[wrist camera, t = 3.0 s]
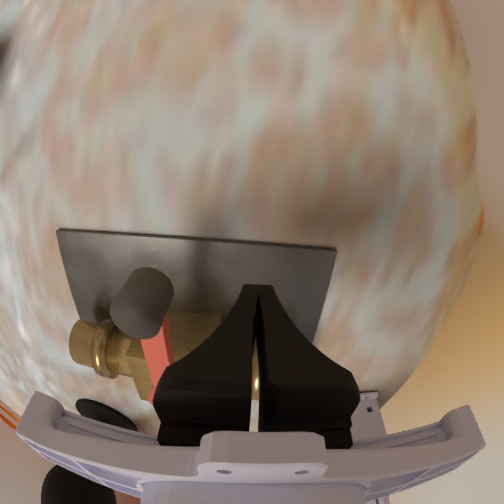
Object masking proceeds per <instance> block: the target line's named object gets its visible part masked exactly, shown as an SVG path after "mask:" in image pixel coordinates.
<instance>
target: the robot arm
mask: <svg viewBox="0 0 504 504" xmlns="http://www.w3.org/2000/svg"><path fill="white" fill-rule="evenodd" d="M255 338H256V346H257V357H258V368H259V420H258V432H249V427H250V413H251V400H252V359H253V352H254V345H255ZM378 396H379V394H378V392H369V393H360V392H359V389H358V386H357V383H356V381H355V379H354V377H353V375H352V373H351V372H350V371H348V370H347V369H345V368H343V367H342V366H340V365H338V364H337V363H335V362H334V361H332V360H331V359H330V358H328V357H327V356H325V355H324V354H323V353H322V352H321V351H319V350H318V349H317V348H316V347H315V346H314V345H313V344H312V343H311V342H310V341H309V340H308V339H307V338H306V337H305V336H304V335H303V334H302V333H301V332H300V330H299V329H298V328H297V327H296V325H295V324H294V323H293V321H292V320H291V319H290V317H289V316H288V314H287V312H286V311H285V309H284V308H283V306H282V304H281V302H280V300H279V299H278V297H277V294H276V292H275V290H274V287H273V286H272V285H260V284H244V285H243V286H242V289H241V292H240V294H239V296H238V298H237V300H236V302H235V303H234V305H233V307H232V308H231V310H230V312H229V313H228V314H227V316H226V317H225V318H224V320H223V321H222V322H221V324H220V325H219V326H218V327H217V328H216V330H215V331H214V332H213V333H212V334H211V335H210V336H209V337H208V338H207V339H206V340H205V341H204V342H202V343H201V344H200V345H199V346H198V347H196V348H195V349H194V350H192V351H191V352H190V353H188V354H187V355H186V356H184V357H183V358H181V359H180V360H178V361H176V362H175V363H173V364H171V365H169V366H167V367H166V368H165V370H164V372H163V374H162V375H161V377H160V380H159V382H158V384H157V386H156V390H155V393H154V397H153V400H152V402H153V407H154V409H155V411H156V413H157V415H158V417H159V420H160V422H161V424H160V428H159V432H158V436H156V435H151V434H146V433H141V432H137V431H133V430H128V429H124V428H121V427H117V426H113V425H110V424H106V423H103V422H99V421H96V420H93V419H90V418H87V417H84V416H81V415H78V414H75V413H72V412H70V411H67V410H64V408H63V406H62V405H61V403H60V402H59V401H57V400H56V399H55V398H53V397H51V396H48V395H46V394H43V393H41V392H38V391H35V392H34V394H33V396H32V398H31V400H30V402H29V404H28V406H27V407H26V409H25V411H24V413H23V415H22V417H21V419H20V421H19V424H18V426H17V428H16V430H15V433H16V434H17V435H18V436H19V437H20V438H21V439H22V440H24V441H25V442H26V443H27V444H28V445H29V446H30V447H32V448H33V449H34V450H35V451H37V452H38V453H39V454H40V455H41V456H43V457H44V458H46V459H48V460H50V461H52V462H53V463H55V464H58V465H60V466H62V467H64V468H66V469H68V470H70V471H72V472H74V473H76V474H79V475H81V476H83V477H85V478H87V479H90V480H92V481H94V482H97V483H99V484H102V485H104V486H107V487H109V488H112V489H115V490H118V491H120V492H123V493H126V494H129V495H133V496H135V497H139V498H141V502H140V504H390V503H389V495H391V494H395V493H397V492H400V491H403V490H406V489H409V488H412V487H414V486H417V485H419V484H422V483H424V482H427V481H429V480H432V479H434V478H437V477H439V476H441V475H443V474H446V473H448V472H450V471H453V470H455V469H456V468H457V467H459V466H460V465H462V464H463V463H465V462H466V461H467V460H469V459H470V458H471V457H473V456H474V455H475V454H476V453H478V452H479V451H480V450H482V449H483V448H484V447H485V445H486V444H485V441H484V439H483V437H482V434H481V432H480V429H479V427H478V424H477V422H476V420H475V418H474V415H473V413H472V411H471V409H470V406H469V405H466V406H463V407H460V408H457V409H454V410H452V411H450V412H448V413H447V414H445V415H444V416H443V418H442V419H441V420H440V421H439V422H436V423H433V424H429V425H426V426H422V427H419V428H415V429H411V430H407V431H402V432H398V433H394V434H389V435H387V434H386V431H385V427H384V423H383V420H382V416H381V413H380V410H379V406H378V403H377V397H378Z"/></svg>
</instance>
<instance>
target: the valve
mask: <svg viewBox="0 0 504 504" xmlns="http://www.w3.org/2000/svg"><path fill="white" fill-rule="evenodd" d="M56 234H57V239H58V243H59V248H60V252H61V256H62V260H63V264H64V268H65V272H66V276H67V279H68V283H69V286H70V289H71V293H72V296H73V299H74V302H75V305H76V308H77V311H78V314H79V317H80V320H78V321H77V322H76V323H75V324H74V326H73V328H72V330H71V333H70V338H69V350H70V354H71V357H72V359H73V360H74V361H75V362H76V363H78V364H81V365H85V366H88V367H92V368H94V370H95V372H96V373H97V374H98V375H100V376H103V377H107V378H111V379H114V378H116V377H117V376H118V375H124V376H128V377H133V380H134V382H135V385H136V388H137V390H138V393H139V395H140V398H141V400H146V401H149V400H148V397H149V394H150V390H151V387H152V384H153V382H152V379H151V376H150V372H149V369H148V366H147V362H146V359H145V355H144V351H143V348H142V344H141V340H140V339H137V338H134V337H131V336H129V335H127V334H125V333H124V332H122V331H121V330H120V329H119V328H118V327H117V326H116V325H115V323H114V322H113V320H112V318H111V315H110V306H111V304H112V302H113V300H114V299H115V297H116V296H117V294H118V293H119V291H120V290H121V288H122V287H123V285H124V284H125V282H126V281H127V279H128V278H129V276H130V275H131V273H132V272H133V271H134V270H136V269H137V268H140V267H152V268H155V269H157V270H159V271H161V272H162V273H164V274H165V275H166V276H167V277H168V278H169V279H170V281H171V283H172V285H173V288H174V296H173V299H172V301H171V304H170V306H169V309H168V311H167V316H168V323H169V330H170V336H171V343H172V349H173V355H174V360H175V362H176V361H178V360H180V359H181V358H183V357H184V356H186V355H187V354H188V353H190V352H191V351H192V350H194V349H195V348H196V347H198V346H199V345H200V344H201V343H202V342H204V341H205V340H206V339H207V338H208V337H209V336H210V335H211V334H212V333H213V332H214V331H215V330H216V328H217V327H218V326H219V325H220V324H221V322H222V321H223V320H224V318H225V317H226V316H227V314H228V313H229V312H230V310H231V308H232V307H233V305H234V303H235V302H236V300H237V298H238V296H239V294H240V292H241V289H242V286H243V285H244V284H260V285H272V286H273V287H274V290H275V292H276V294H277V297H278V299H279V300H280V302H281V304H282V306H283V308H284V309H285V311H286V312H287V314H288V316H289V317H290V319H291V320H292V321H293V323H294V324H295V325H296V327H297V328H298V329H299V330H300V332H301V333H302V334H303V335H304V336H305V337H306V338H307V339H308V340H309V341H310V342H311V343H312V342H313V339H314V336H315V332H316V329H317V325H318V322H319V318H320V315H321V311H322V308H323V304H324V300H325V297H326V293H327V289H328V285H329V281H330V277H331V273H332V269H333V265H334V261H335V257H336V253H337V251H336V249H331V248H319V247H307V246H295V245H282V244H270V243H257V242H244V241H231V240H218V239H204V238H190V237H176V236H162V235H147V234H132V233H117V232H102V231H85V230H69V229H58V230H56ZM252 400H259V368H258V357H257V346H256V338H255V345H254V352H253V359H252Z"/></svg>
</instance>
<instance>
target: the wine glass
mask: <svg viewBox="0 0 504 504" xmlns="http://www.w3.org/2000/svg"><path fill="white" fill-rule="evenodd" d="M76 409H77V410H78V412H79V413H80V414H81V415H82V416H84V417H87V418H90V419H93V420H96V421H99V422H103V423H106V424H110V425H113V426H117V427H121V428H124V429H128V430H133V431H137V428H136V426H135V425H134V424H133V422H132V421H130V420H129V419H128V418H127V417H125V416H124V415H123V414H121V413H119V412H118V411H116V410H114V409H112V408H110V407H108V406H106V405H104V404H101V403H99V402H96V401H92V400H88V399H80V400H78V401H77V402H76ZM41 504H117V503H116V497H115V493H114V490H113V489H112V488H109V487H107V486H104V485H102V484H99V483H97V482H94V481H92V480H90V479H87V478H85V477H83V476H81V475H79V474H76V473H74V472H72V471H70V470H68V469H66V468H64V467H62V466H60V465H58V464H57V465H56V466H54V467H53V468H52V469H51V470H50V471H49V472H48V474H47V475H46V477H45V479H44V482H43V486H42V492H41Z"/></svg>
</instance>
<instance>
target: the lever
mask: <svg viewBox="0 0 504 504" xmlns="http://www.w3.org/2000/svg"><path fill="white" fill-rule="evenodd" d="M173 296H174V288H173V285H172V283H171V281H170V279H169V278H168V277H167V276H166V275H165V274H164V273H162V272H161V271H159V270H157V269H155V268H152V267H140V268H137V269H136V270H134V271H133V272H132V273H131V275H130V276H129V278H128V279H127V281H126V282H125V284H124V285H123V287H122V288H121V290H120V291H119V293H118V294H117V296H116V297H115V299H114V300H113V302H112V304H111V306H110V315H111V318H112V320H113V322H114V323H115V325H116V326H117V327H118V328H119V329H120V330H121V331H122V332H124V333H125V334H127V335H129V336H131V337H134V338H137V339H140V340H141V344H142V348H143V351H144V355H145V359H146V362H147V366H148V369H149V372H150V376H151V379H152V382H153V384H152V387H151V390H150V394H149V397H148V400H149V402H150V403H151V404H152V405H153V402H152V400H153V397H154V393H155V390H156V386H157V384H158V382H159V380H160V377H161V375H162V374H163V372H164V370H165V368H166V367H167V366H169V365H171V364H173V363H175V360H174V355H173V349H172V343H171V336H170V330H169V323H168V316H167V311H168V309H169V306H170V304H171V301H172V299H173Z"/></svg>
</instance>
